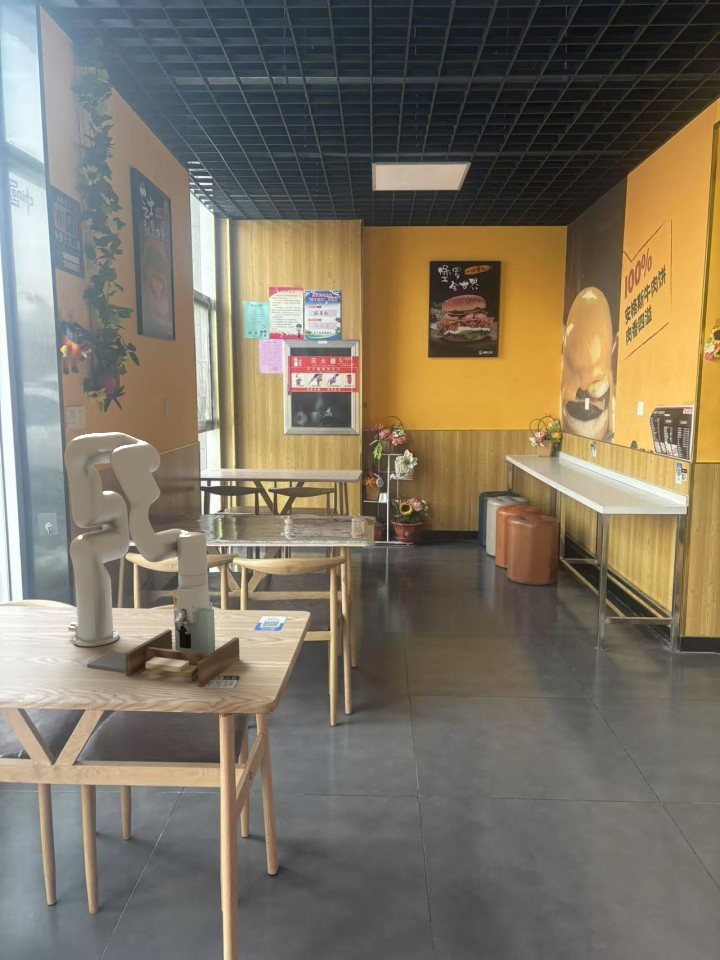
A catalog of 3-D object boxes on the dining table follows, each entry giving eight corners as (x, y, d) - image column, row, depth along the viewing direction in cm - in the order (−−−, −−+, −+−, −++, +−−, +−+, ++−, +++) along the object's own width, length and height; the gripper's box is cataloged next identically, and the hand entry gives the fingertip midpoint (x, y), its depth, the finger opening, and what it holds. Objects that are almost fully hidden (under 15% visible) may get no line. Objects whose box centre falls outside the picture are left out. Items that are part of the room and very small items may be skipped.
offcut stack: (140, 679, 181) (140, 663, 181) (151, 671, 186) (151, 655, 186) (191, 684, 178) (190, 668, 177) (201, 676, 183) (200, 660, 182)
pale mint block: (175, 660, 193) (174, 609, 191) (183, 655, 196) (181, 605, 194) (208, 664, 190) (207, 613, 188) (215, 659, 193) (214, 609, 191)
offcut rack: (126, 675, 182) (125, 653, 181) (168, 650, 200) (167, 629, 199) (202, 686, 175) (201, 663, 174) (239, 659, 193) (239, 637, 192)
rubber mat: (87, 666, 188) (87, 663, 188) (111, 653, 198) (111, 650, 198) (129, 672, 184) (129, 669, 184) (152, 658, 194) (152, 656, 194)
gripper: (197, 570, 199) (200, 630, 201) (162, 586, 183) (164, 651, 185) (222, 572, 197) (224, 632, 199) (187, 588, 181) (190, 654, 183)
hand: (195, 641), depth 192 cm, fingers open, 9 cm apart
